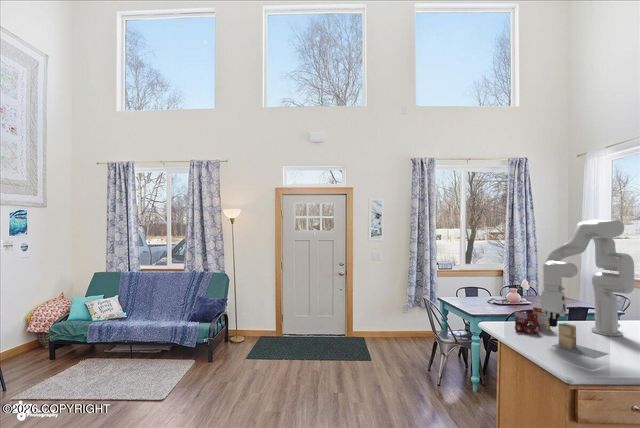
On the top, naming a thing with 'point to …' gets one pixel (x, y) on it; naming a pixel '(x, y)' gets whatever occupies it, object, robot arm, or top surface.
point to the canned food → (541, 318)
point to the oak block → (567, 335)
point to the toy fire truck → (526, 322)
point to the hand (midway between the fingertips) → (553, 326)
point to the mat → (583, 351)
